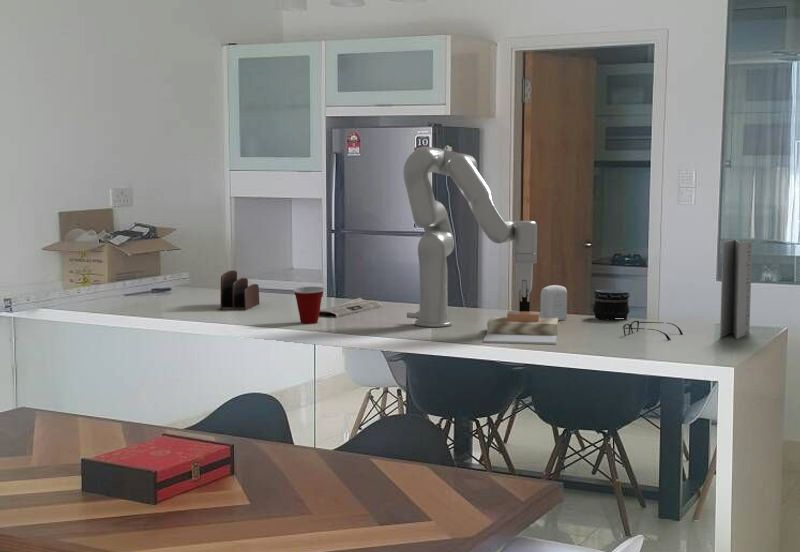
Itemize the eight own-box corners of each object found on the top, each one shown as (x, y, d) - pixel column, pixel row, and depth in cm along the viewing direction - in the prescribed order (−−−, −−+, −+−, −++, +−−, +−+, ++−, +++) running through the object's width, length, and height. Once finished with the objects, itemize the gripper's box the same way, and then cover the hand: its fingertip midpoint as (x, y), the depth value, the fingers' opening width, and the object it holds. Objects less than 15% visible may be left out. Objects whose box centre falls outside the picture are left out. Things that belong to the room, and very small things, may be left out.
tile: (507, 321, 343) (507, 313, 343) (508, 318, 350) (508, 311, 350) (538, 322, 342) (538, 314, 341) (539, 319, 349) (539, 311, 348)
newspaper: (336, 319, 381) (336, 309, 381) (307, 316, 387) (307, 307, 387) (384, 308, 412) (384, 299, 412) (356, 306, 418) (356, 297, 418)
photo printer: (560, 318, 379) (560, 283, 378) (568, 320, 376) (569, 284, 375) (538, 320, 374) (538, 285, 373) (546, 322, 370) (546, 286, 369)
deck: (487, 335, 341) (487, 322, 340) (490, 328, 354) (490, 316, 354) (557, 336, 337) (557, 324, 337) (557, 330, 351) (558, 318, 351)
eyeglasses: (637, 331, 351) (637, 319, 351) (684, 335, 343) (685, 323, 343) (620, 338, 337) (620, 325, 337) (669, 342, 329) (670, 329, 329)
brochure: (737, 338, 333) (740, 242, 330) (719, 337, 336) (722, 241, 333) (749, 332, 345) (752, 240, 342) (732, 331, 348) (734, 239, 345)
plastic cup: (287, 324, 366) (287, 289, 365) (302, 319, 376) (301, 285, 375) (316, 325, 362) (315, 290, 361) (329, 321, 372) (329, 287, 371)
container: (613, 315, 388) (614, 288, 387) (637, 319, 377) (637, 291, 376) (585, 317, 382) (585, 289, 381) (607, 322, 371) (608, 293, 370)
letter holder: (220, 310, 403) (219, 273, 401) (235, 304, 422) (234, 268, 421) (246, 311, 402) (245, 273, 400) (259, 304, 421) (259, 268, 420)
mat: (483, 342, 326) (483, 340, 325) (486, 335, 339) (486, 333, 339) (556, 344, 322) (556, 342, 322) (557, 337, 336) (557, 335, 336)
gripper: (514, 256, 360) (514, 310, 361) (512, 260, 345) (512, 316, 347) (537, 256, 358) (536, 311, 360) (536, 260, 344) (535, 317, 346)
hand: (524, 313), depth 353 cm, fingers closed
